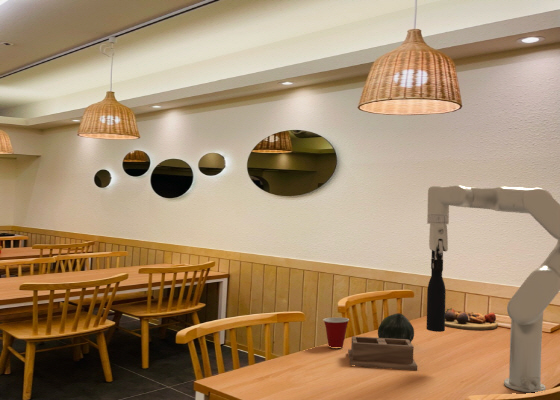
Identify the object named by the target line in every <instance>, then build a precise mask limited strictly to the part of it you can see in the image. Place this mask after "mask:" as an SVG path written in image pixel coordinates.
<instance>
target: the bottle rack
mask: <svg viewBox="0 0 560 400" xmlns="http://www.w3.org/2000/svg"><path fill="white" fill-rule="evenodd" d="M350 344H351V347H350V348H349V349H347V350H348V351H347V353H349V355H348V360H349V359H350V361H349V366H350V365H355V366H365V367H364V368H370V367H377V368H376V369H386V368H392V369H391V370H402V371H403V370H407V371H418V365H417V363H416V361H415V360H414V347H415V346H414V345H413V344H412V341H411V342H410V341H409V339H391V338H378V337H369V336H351V343H350Z"/></svg>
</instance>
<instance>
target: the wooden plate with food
mask: <svg viewBox="0 0 560 400" xmlns="http://www.w3.org/2000/svg"><path fill="white" fill-rule="evenodd" d="M455 311H456V310H455V309H453V307H451V308H447V309H446V310H445V328H446V327H447V328H452V329H459V330H469V331H470V330H471V331H472V330H474V331H483V330H484V331H485V330H487V331H488V330H493V329H497V327H498V326H499V324H498V322H497V321H496V320H497V317H496V314H495V313H494V312H487V313H486V314H485V315H483V314H482V313H479V312H476V313H472V314H471V313H466V312H465V311H457V313H456V312H455Z"/></svg>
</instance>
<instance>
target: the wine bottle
mask: <svg viewBox="0 0 560 400" xmlns="http://www.w3.org/2000/svg"><path fill="white" fill-rule="evenodd" d="M436 249H437V247H436ZM436 251H439V249H437V250H436ZM431 255H432V256H434V260H435V251H433V250H431ZM434 260H433V262H434ZM432 265H433V266H432V267H433V268H432V269H431V271H430V272H431V276H430V279H429V281H428V284H427V285H428V286H427V289H426V290H427V291H426V292H427V293H426V330H427V331H429V332H436V333H438V332H439V333H442V332H445V331H446V330H445V329H446V326H445V313H446V312H445V311H446V284H445V281H444V279H443V278H444V277H443V271H434V263H433V264H432Z"/></svg>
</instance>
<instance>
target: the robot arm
mask: <svg viewBox="0 0 560 400" xmlns="http://www.w3.org/2000/svg"><path fill="white" fill-rule="evenodd" d="M450 206H452V207H457V208H459V207H460V208H470V209H471V208H472V209H473V208H474V209H483V210H492V211H496V212H501V213H502V212H505V213H506V212H507V213H516V214H517V213H519V214H528V215H530V216H531V217H533V219H534V220H535V221H536V222H538V224H539V225H540V226H541V227H542V228H543V229H545V231H546V232H548V234H549V235H551V236H552V238H554V239H555V240H557V243H556V245H555V246H554V248H553V249H552V250H551V251H550V253H549V255H548V256H547V257H546V259H545V260H544V261H543V262H542V263H541V264H540V266H538V267H537V268H536V269H534V270H533V271H532V272H531V273H530V274H529V275H528V277H526V279H525V280H524V282H523V283H522V284H521V285H520V287H519V288H517V290H516V292H515V293H514V295H512V297H511V298H510V299H509V301H508V303H507V306H506V311H507V314H508V317H509V318H510V319H511V320H510V334H509V335H510V336H509V337H510V339H509V366H508V367H509V369H508V370H509V371H508V372H509V373H508V374H509V376H508V377H507V378H505V379H504V380H503V384H504V386H506V387H507V388H508V389H511V390H513V391H517V392H523V393H529V394H532V393H531V392H538V391H543V390H545V391H546V390H547V389H546V385H545V384H543V383H542V382H541V381H542V380H541V379H542V377H541V375H542V372H541V370H542V343H543V340H542V339H543V324H544V323H543V321H544V311H545V310H546V309H547V308H548V306H549V305H550V304H551V302H552V301H554V299H555V298H556V296H557V295H558V294H559V292H560V203H559V202H558V201H557V200H556V199H555V198H554V197H553V195H552V194H551V193H550V192H549V190H546V189H544V188H541V187H533V188H528V187H527V188H526V187H511V186H510V187H509V186H497V187H493V188H491V187H490V188H488V187H487V188H486V187H471V186H469V187H468V186H463V185H450V186H442V185H441V186H440V185H439V186H438V185H437V186H435V185H433V186H430V187H428V189H427V218H426V220H427V221H426V222H427V223H426V224H429V236H428V238H429V239H428V240H429V241H428V247H429V250H430V251H432V250H433V251H435V260H434V256H432V254H431V256H430V257H431V259H430V263H431V264H430V269H431V270H432V268H433V267H432V266H433V265H432V264H433V263H434V271H442V272H443V271H444V252H448V250H449V247H448V246H449V244H448V243H449V242H448V240H449V238H448V225H449V224H450V223H449V220H450V218H449V217H450V216H449V215H450V214H449V213H450ZM436 247H437V249H439V251H436V250H437V249H436ZM433 260H434V262H433Z"/></svg>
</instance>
